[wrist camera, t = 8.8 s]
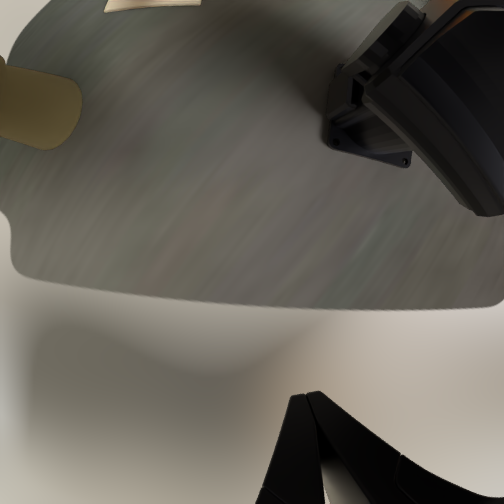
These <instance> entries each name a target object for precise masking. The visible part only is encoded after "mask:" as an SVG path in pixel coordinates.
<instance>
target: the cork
mask: <svg viewBox="0 0 504 504" xmlns="http://www.w3.org/2000/svg"><path fill="white" fill-rule="evenodd" d="M82 103H83V102H82V93H81V90H80V88H79V86H78V84H77V83H76V82H74V81H73V80H72V79H69V78H65V77H61V76H57V75H53V74H48V73H44V72H40V71H35V70H30V69H25V68H20V67H14V66H9V65H6V64H5V60H4V59H3V57H2V56H0V137H3V138H7V139H10V140H13V141H16V142H19V143H22V144H25V145H28V146H32V147H35V148H38V149H41V150H51V149H54V148H55V147H57V146H59V145H61V144H62V143H63V142H64V141H65V140H66V139H67V138H68V137H69V136H70V135H71V133H72V132H73V130H74V128H75V127H76V125H77V122H78V120H79V117H80V115H81V109H82Z"/></svg>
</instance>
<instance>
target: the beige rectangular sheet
mask: <svg viewBox="0 0 504 504" xmlns="http://www.w3.org/2000/svg"><path fill="white" fill-rule="evenodd" d="M201 1H202V0H108V3H107V5H106V7H105V10H104V12H105V13H107V12H113V11H120V10H127V9H136V8H146V7H159V6H185V5H197V6H200V5H201Z"/></svg>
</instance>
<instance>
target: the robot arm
mask: <svg viewBox="0 0 504 504" xmlns="http://www.w3.org/2000/svg"><path fill="white" fill-rule="evenodd" d="M340 69H341V70H340ZM341 71H342V72H341ZM326 117H327V118H328V119H329V120H330V124H329V132H328V140H327V143H328V146H329V147H330V148H331V149H333V150H336V151H341V152H345V153H349V154H353V155H357V156H361V157H365V158H369V159H372V160H376V161H380V162H383V163H387V164H390V165H393V166H397V167H400V168H408V167H409V166H410V164H411V156H412V151H414V152H415V153H416V154H417V155H418V156H419V157H420V158H421V159H422V160H423V161H424V162H425V163H426V164H427V166H428V167H429V168H430V169H431V170H432V171H433V172H434V173H435V175H436V176H437V177H438V178H439V179H440V180H441V181H442V183H443V184H444V185H445V186H446V187H447V189H448V190H449V191H450V192H451V194H452V195H453V196H454V197H455V199H456V200H457V201H458V202H459V204H461V205H463V206H464V207H466V208H467V209H469V210H471V211H473V212H474V213H475V214H476V215H477V216H483V217H492V216H497V215H503V214H504V0H430V1H429V2H428V3H427V4H426V5H425V6H424V7H423V8H421V9H420V10H419V9H418V8H417V7H415V6H414V5H413V4H412V3H411V2H409V1H404V2H399V3H398V4H397V5H396V6H395V7H394V8H393V9H392V10H391V11H390V12H389V13H388V14H387V15H386V16H385V17H384V18H383V19H382V20H381V21H380V22H379V23H378V24H377V26H376V27H375V28H374V29H373V30H372V32H371V33H370V34H369V35H368V36H367V38H366V39H365V40H364V41H363V43H362V44H361V45H360V46H359V48H358V49H357V50H356V51H355V52H354V54H353V55H352V56H351V57H350V59H349V60H348V61H347V63H346V64H339V65H338V66H337V67H336V69H335V77H334V80H333V81H332V82H331V83H330V85H329V93H328V102H327V111H326ZM333 139H336V140H337V141H338V145H337V146H335V145H334V144H333ZM403 158H404V159H405V164H403V161H402V160H403ZM400 455H401V453H400V452H399V451H397V450H396V449H394V448H393V447H392V446H390V445H389V444H388V443H386V442H385V441H384V440H382V439H381V438H380V437H378V436H377V435H376V434H374V433H373V432H371V431H370V430H369V429H368V428H366V427H365V426H364V425H362V424H361V423H360V422H358V421H357V420H356V419H355V418H353V417H352V416H351V415H349V414H348V413H347V412H346V411H345V410H343V409H342V408H341V407H339V406H338V405H337V404H336V403H335V402H333V401H332V400H331V399H330V398H328V397H327V396H326V395H325V394H324V393H322V392H321V391H314V392H309V393H307V394H306V395H305V394H297V395H292V396H291V397H290V400H289V403H288V407H287V410H286V414H285V417H284V420H283V424H282V427H281V431H280V434H279V437H278V440H277V443H276V446H275V450H274V453H273V455H272V458H271V461H270V464H269V467H268V470H267V473H266V476H265V479H264V482H263V485H262V488H261V490H260V492H259V495H258V498H257V500H256V503H255V504H325V498H324V487H325V490H326V493H327V496H328V499H329V501H330V504H504V497H500V498H498V497H487V496H483V495H479V494H476V493H474V492H471V491H469V490H467V489H464V488H462V487H460V486H458V485H455V484H453V483H451V482H449V481H447V480H444V479H442V478H440V477H438V476H436V475H435V474H433V473H431V472H429V471H427V470H425V469H424V468H422V467H421V466H419V465H417V464H416V463H414V462H413V461H411V460H410V459H408V458H407V457H406V456H404V455H401V456H400ZM323 485H324V487H323Z"/></svg>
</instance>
